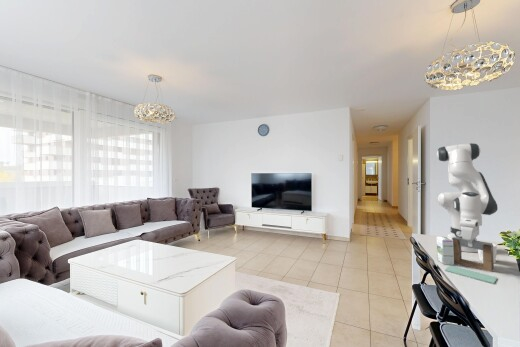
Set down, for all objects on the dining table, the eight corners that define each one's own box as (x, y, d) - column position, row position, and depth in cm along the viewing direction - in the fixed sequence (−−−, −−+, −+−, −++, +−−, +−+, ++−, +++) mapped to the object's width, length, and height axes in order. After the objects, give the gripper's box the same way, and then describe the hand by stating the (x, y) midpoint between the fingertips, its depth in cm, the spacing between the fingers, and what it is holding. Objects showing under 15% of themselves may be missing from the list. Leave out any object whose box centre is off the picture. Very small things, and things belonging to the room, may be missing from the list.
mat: (449, 266, 121) (449, 265, 121) (497, 278, 107) (497, 277, 107) (444, 270, 116) (444, 269, 116) (493, 284, 102) (493, 282, 102)
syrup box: (454, 265, 123) (454, 239, 123) (442, 264, 124) (442, 239, 124) (448, 261, 129) (447, 236, 129) (436, 260, 130) (436, 236, 130)
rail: (453, 243, 130) (453, 236, 130) (492, 250, 117) (492, 243, 117) (452, 244, 128) (452, 237, 128) (491, 251, 115) (491, 244, 115)
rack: (455, 259, 131) (454, 237, 131) (493, 268, 118) (493, 244, 118) (451, 262, 127) (451, 240, 127) (491, 271, 114) (490, 247, 114)
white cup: (493, 264, 122) (492, 247, 123) (474, 259, 130) (474, 243, 130) (499, 262, 126) (499, 245, 126) (481, 257, 133) (481, 241, 133)
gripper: (467, 217, 131) (468, 240, 131) (458, 222, 119) (459, 247, 119) (482, 219, 126) (483, 243, 126) (474, 224, 114) (475, 250, 114)
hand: (471, 245), depth 123 cm, fingers closed on rail, 3 cm apart
